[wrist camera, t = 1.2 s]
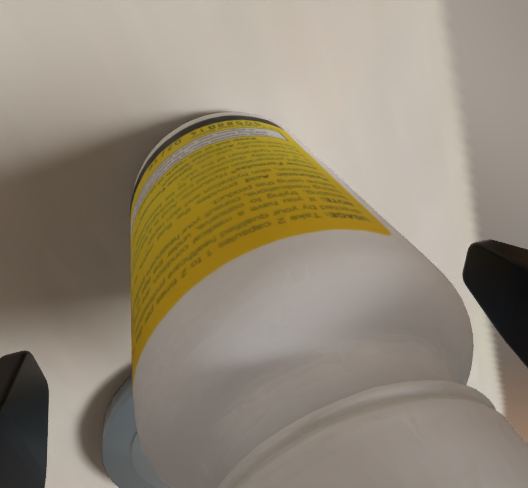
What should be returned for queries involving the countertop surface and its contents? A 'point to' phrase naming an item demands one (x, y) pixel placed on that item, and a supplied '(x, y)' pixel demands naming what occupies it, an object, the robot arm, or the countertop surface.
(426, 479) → the supplement bottle
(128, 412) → the dish
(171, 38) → the countertop surface
